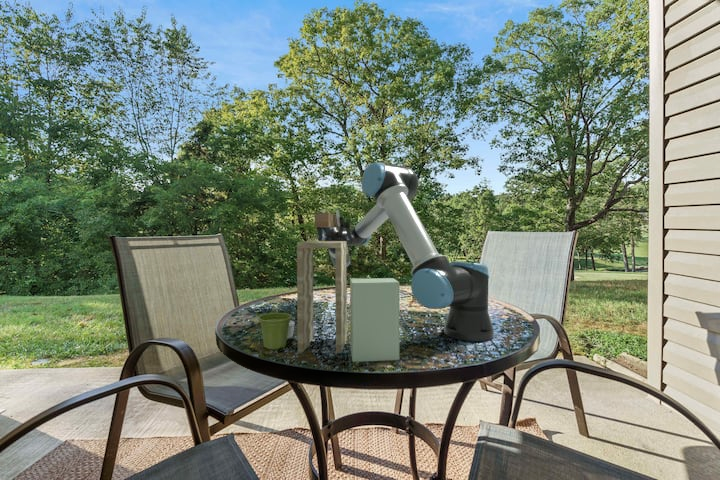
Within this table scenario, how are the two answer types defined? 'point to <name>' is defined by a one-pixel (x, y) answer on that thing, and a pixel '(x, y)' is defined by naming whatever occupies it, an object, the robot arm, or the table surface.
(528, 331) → the table surface
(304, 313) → the bridge
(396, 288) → the block
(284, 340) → the plant pot
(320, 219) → the rail
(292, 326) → the ramekin
